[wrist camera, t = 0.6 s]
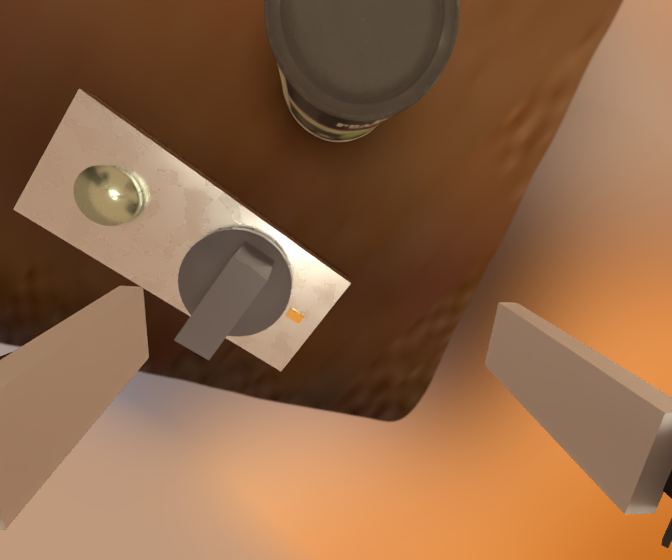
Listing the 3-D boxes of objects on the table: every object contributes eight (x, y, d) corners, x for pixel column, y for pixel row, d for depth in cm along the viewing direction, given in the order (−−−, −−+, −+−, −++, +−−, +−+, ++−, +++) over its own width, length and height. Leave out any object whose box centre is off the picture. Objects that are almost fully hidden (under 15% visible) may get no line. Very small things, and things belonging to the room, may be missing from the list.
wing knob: (222, 205, 32) (196, 215, 24) (312, 268, 34) (314, 295, 27) (165, 291, 34) (123, 325, 26) (254, 345, 36) (240, 391, 28)
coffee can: (413, 108, 33) (488, 64, 20) (315, 162, 34) (323, 154, 20) (365, -11, 30) (414, -161, 17) (259, 50, 31) (223, -46, 17)
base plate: (30, 207, 33) (1, 210, 30) (93, 93, 30) (69, 84, 27) (282, 361, 39) (280, 377, 36) (348, 277, 37) (352, 286, 34)
